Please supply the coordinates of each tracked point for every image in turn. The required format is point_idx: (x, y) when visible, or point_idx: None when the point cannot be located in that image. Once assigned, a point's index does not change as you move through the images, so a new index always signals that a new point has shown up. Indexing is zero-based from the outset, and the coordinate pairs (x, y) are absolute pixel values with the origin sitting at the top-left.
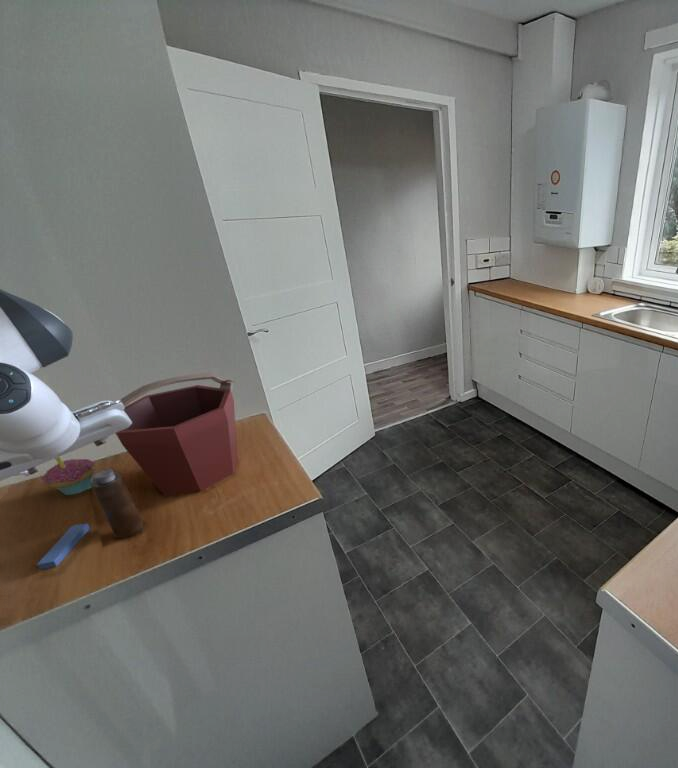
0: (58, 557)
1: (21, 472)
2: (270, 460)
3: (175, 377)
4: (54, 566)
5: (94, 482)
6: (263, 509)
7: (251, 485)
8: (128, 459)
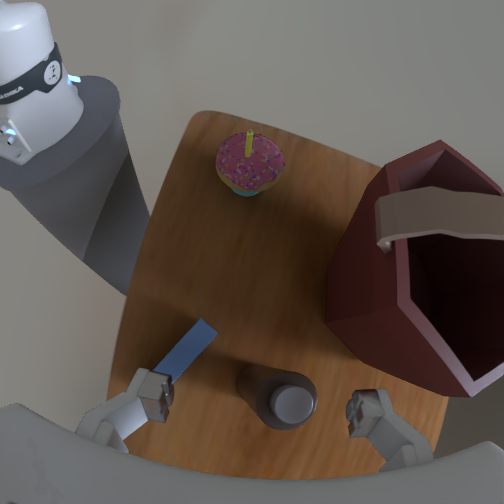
0: None
1: (129, 432)
2: None
3: None
4: None
5: (266, 391)
6: None
7: (406, 400)
8: (314, 157)
